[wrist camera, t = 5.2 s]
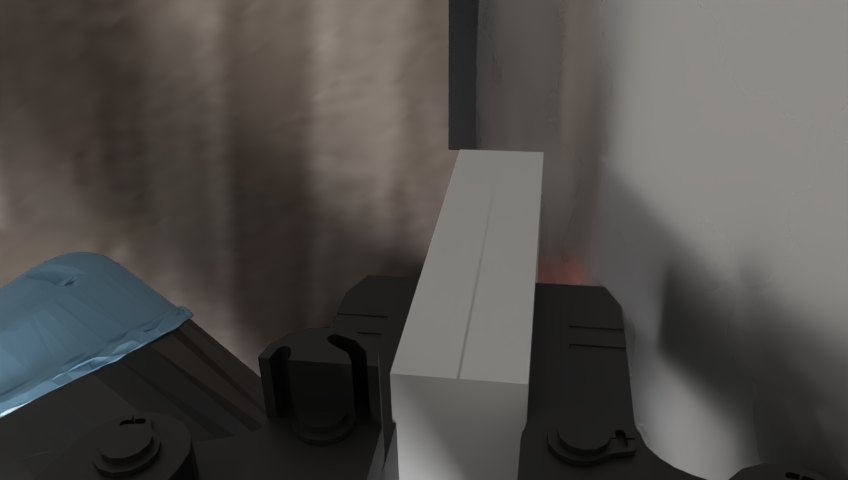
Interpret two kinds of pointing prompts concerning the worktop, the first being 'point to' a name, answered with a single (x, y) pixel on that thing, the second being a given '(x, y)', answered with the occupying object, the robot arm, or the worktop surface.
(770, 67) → the pot lid
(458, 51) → the pressure cooker pot
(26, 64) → the worktop surface
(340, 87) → the worktop surface
